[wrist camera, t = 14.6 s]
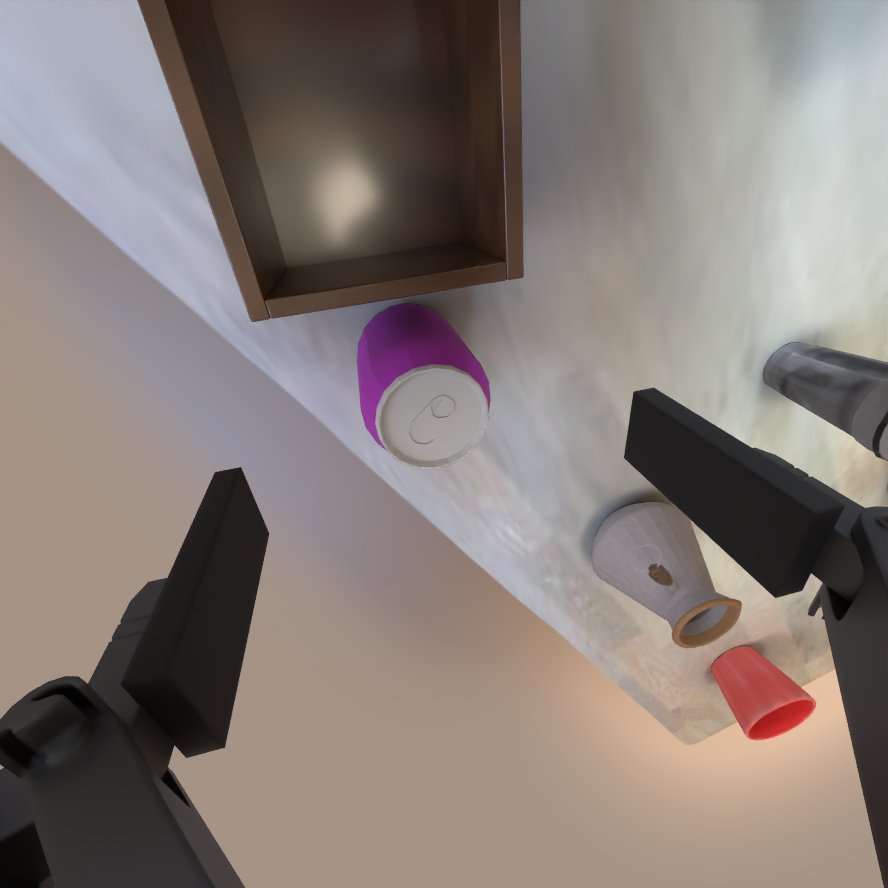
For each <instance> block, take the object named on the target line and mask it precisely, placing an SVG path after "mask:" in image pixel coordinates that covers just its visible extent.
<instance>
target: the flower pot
mask: <svg viewBox="0 0 888 888" xmlns="http://www.w3.org/2000/svg"><path fill="white" fill-rule="evenodd" d="M711 672H712V674H713V676H714V678H715V680H716V682H717V684H718V686H719V687H720V689H721V691H722V693H723V695H724V697H725V699H726V701H727V702H728V704H729V706H730V708H731V710H732V712H733V713H734V715H735V717H736V719H737V721H738V723H739V724H740V726H741V728H742V730H743V732H744V733H745V735H746V736H747V737H748V738H750V739H752V740H764V739H769V738H773V737H775V736H778V735H781V734H783V733H785V732H787V731H789V730H791V729H793V728H795V727H796V726H798V725H799V724H801V723H802V722H803V721H804V720H806V719H807V718H808V717H809V716H810V715H811V714H812V712H813V711H814V709H815V707H816V702H815V700H814V699H813V698H812V697H811V696H810V695H809V694H808V693H806V692H805V691H804V690H803V689H802V688H801V687H799V686H798V685H797V684H796V683H795V682H794V681H792V680H791V679H790V678H789V677H788V676H786V675H785V674H784V673H783V672H782V671H780V670H779V669H778V668H777V667H776V666H774V665H773V664H772V663H771V662H769V661H768V660H767V659H766V658H764V657H763V656H762V655H761V654H759V653H758V652H757V651H756V650H754V649H753V648H752V647H749V646H741V647H737V648H734V649H731V650H729V651H727V652H726V653H724V654H723V655H722V656H721V657H720V658H718V659H716V661H715V662H714V663H713V665H712V667H711Z"/></svg>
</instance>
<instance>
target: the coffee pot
mask: <svg viewBox="0 0 888 888" xmlns="http://www.w3.org/2000/svg"><path fill="white" fill-rule="evenodd" d="M591 557H592V564H593V568H594V571H595V572H596V574H597V575H598V576H599V578H600V579H602V580H604V581H605V582H607V583H608V584H610V585H611V586H613V587H615V588H616V589H618V590H619V591H621V592H623V593H624V594H626V595H627V596H629V597H630V598H632V599H634V600H635V601H637V602H638V603H640V604H642V605H643V606H645V607H646V608H648V609H649V610H651V611H653V612H654V613H656V614H657V615H659V616H661V617H662V618H664V619H665V620H667V621H668V622H669V624H670V626H671V628H672V630H673V631H672V638H673V640H674V642H675V643H676V644H677V645H679V646H680V647H684V648H695V647H699V646H703V645H705V644H708V643H710V642H712V641H714V640H716V639H718V638H719V637H721V636H722V635H724V634H725V633H726V632H727V631H728V630H730V629H731V628H732V627H733V625H734V624H735V623H736V621H737V620H738V617H739V615H740V612H741V606H742V603H741V602H740V601H738V600H735V599H731V598H728V597H726V596H723V595H721V594H719V593H717V592H715V589H714V586H713V583H712V581H711V578H710V575H709V572H708V569H707V567H706V564H705V561H704V558H703V555H702V553H701V550H700V547H699V544H698V541H697V539H696V536H695V533H694V530H693V527H692V525H691V522H690V520H689V518H688V517H687V516H686V515H685V514H684V513H683V512H682V511H681V510H680V509H679V508H677V507H674V506H671V505H668V504H665V503H662V502H645V503H636V504H631V505H627V506H625V507H622V508H620V509H618V510H617V511H615V512H614V513H612V514H611V515H610V516H609V517H608V518H606V519H605V521H604V522H603V523H602V525H601V526H600V528H599V530H598V532H597V535H596V537H595V539H594V542H593V545H592V551H591Z"/></svg>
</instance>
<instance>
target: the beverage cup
mask: <svg viewBox="0 0 888 888" xmlns="http://www.w3.org/2000/svg"><path fill="white" fill-rule="evenodd" d="M763 378H764V381H765V383H766V384H767V385H769V386H771V387H772V388H774V389H775V390H777V391H778V392H779V393H780V394H782V395H784V396H785V397H787V398H789V399H790V400H792V401H794V402H796V403H797V404H799V405H801V406H802V407H804V408H806V409H807V410H809V411H811V412H812V413H814V414H816V415H817V416H819V417H821V418H823V419H824V420H826V421H828V422H829V423H831V424H833V425H834V426H836V427H838V428H839V429H841V430H843V431H844V432H846V433H848V434H849V435H851V436H853V437H854V438H855V440H856V441H858V442H859V443H860V444H862V445H863V446H864V447H866V448H867V449H868V450H870V451H872V452H874V453H875V455H876V457H879V458H881V459H884V460H887V461H888V362H884V361H879V360H875V359H871V358H866V357H862V356H858V355H854V354H849V353H845V352H841V351H836V350H832V349H828V348H824V347H819V346H812V345H807V344H802V343H790V344H787V345H785V346H783V347H781V348H780V349H778V350H777V351H776V352H775V353H774V354H773V355H772V356H771V358H770V359H769V360H768V362H767V364H766V366H765V368H764V373H763Z"/></svg>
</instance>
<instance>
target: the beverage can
mask: <svg viewBox="0 0 888 888" xmlns="http://www.w3.org/2000/svg"><path fill="white" fill-rule="evenodd" d="M357 364H358V377H359V391H360V404H361V411H362V415H363V419H364V422H365V426H366V428H367V429H368V431H369V432H370V434H371V435H372V436H373V438H374V439H375V441H376V442H377V443H378V444H379V445H381V446H382V447H383V448H384V449H385V450H387V451H388V452H389V454H390V455H391V456H393V457H394V458H395V459H397V460H398V461H400V462H401V463H402V464H405V465H408V466H412V467H415V468H418V469H436V468H441V467H445V466H449V465H452V464H454V463H455V462H457V461H459V460H461V459H463V458H465V457H466V456H467V455H468V454H469V453H470V452H471V451H472V450H474V449H475V448H476V447H477V445H478V444H479V442H480V440H481V439H482V437H483V435H484V434H485V431H486V427H487V423H488V419H489V414H488V413H489V406H490V390H489V381H488V379H487V377H486V375H485V372H484V370H483V368H482V366H481V364H480V363H479V362H478V360H477V359H476V358H475V356H474V355H473V354H472V353H471V351H470V350H469V349H468V347H467V346H466V345H465V344H464V342H463V341H462V340H461V338H460V337H459V336H458V335H457V333H456V332H455V331H454V329H453V328H452V327H451V326H450V325H449V324H448V323H447V322H446V321H445V320H444V319H443V317H442V316H441V315H440V314H438V313H436V312H434V311H432V310H430V309H428V308H426V307H424V306H422V305H414V304H401V305H396V306H391V307H389V308H387V309H385V310H384V311H382V312H380V313H378V314H377V315H375V317H374V318H373V319H372V320H371V321H370V322H369V323H368V324H367V326H366V327H365V329H364V331H363V334H362V336H361V338H360V341H359V344H358V356H357Z"/></svg>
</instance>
